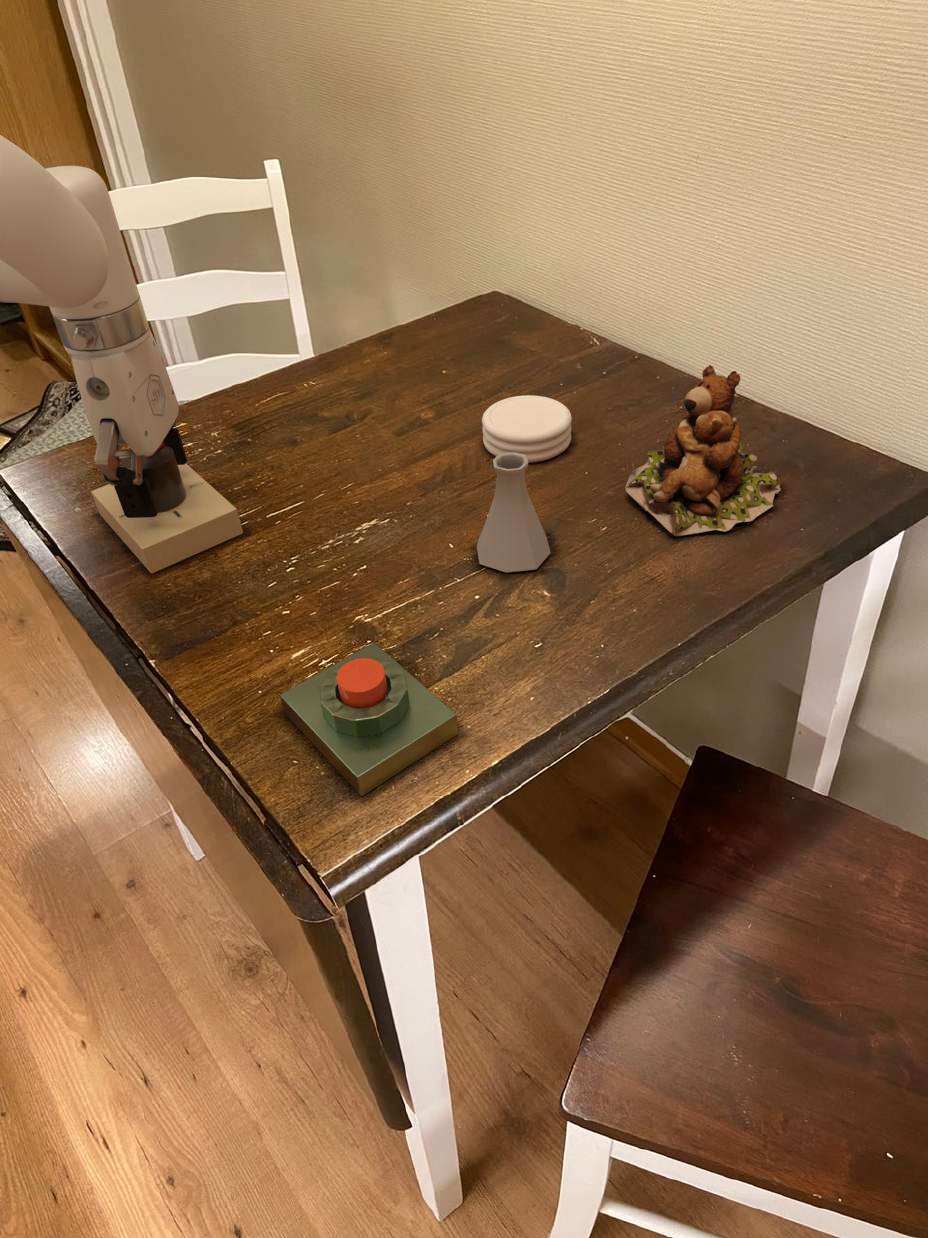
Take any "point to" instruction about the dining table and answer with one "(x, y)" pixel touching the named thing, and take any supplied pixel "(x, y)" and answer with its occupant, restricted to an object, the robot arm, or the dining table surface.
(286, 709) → the button block
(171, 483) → the knob
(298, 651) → the dining table surface
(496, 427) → the cream round flat cylinder
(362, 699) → the button
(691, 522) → the bear figurine
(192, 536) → the panel
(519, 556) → the flask
